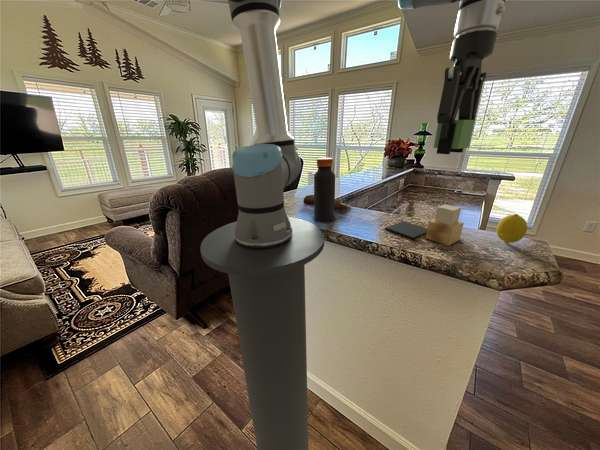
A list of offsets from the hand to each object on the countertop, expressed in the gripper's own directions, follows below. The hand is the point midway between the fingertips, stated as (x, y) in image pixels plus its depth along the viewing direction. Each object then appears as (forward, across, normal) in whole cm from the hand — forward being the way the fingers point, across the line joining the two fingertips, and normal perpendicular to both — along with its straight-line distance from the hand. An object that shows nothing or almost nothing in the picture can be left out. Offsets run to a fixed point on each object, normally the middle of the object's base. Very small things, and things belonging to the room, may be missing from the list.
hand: (449, 152), depth 57 cm
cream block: (+17, +1, -2) cm, 18 cm away
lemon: (+22, +11, -13) cm, 28 cm away
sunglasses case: (+23, -5, +40) cm, 46 cm away
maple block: (+22, +1, -2) cm, 22 cm away
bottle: (+23, -14, +30) cm, 40 cm away
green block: (-1, 0, 0) cm, 1 cm away
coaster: (+22, -1, +7) cm, 23 cm away
